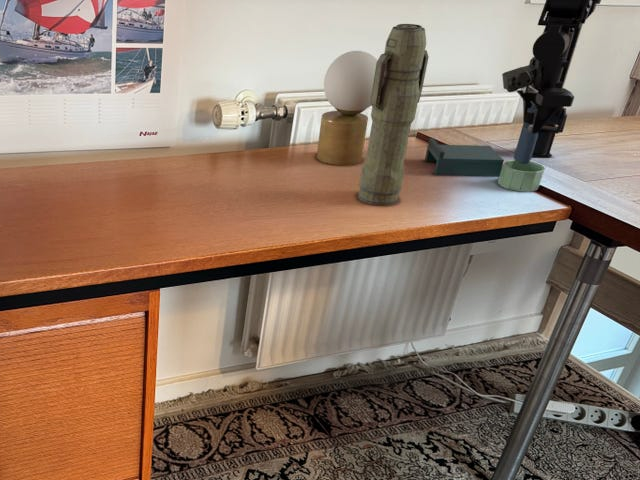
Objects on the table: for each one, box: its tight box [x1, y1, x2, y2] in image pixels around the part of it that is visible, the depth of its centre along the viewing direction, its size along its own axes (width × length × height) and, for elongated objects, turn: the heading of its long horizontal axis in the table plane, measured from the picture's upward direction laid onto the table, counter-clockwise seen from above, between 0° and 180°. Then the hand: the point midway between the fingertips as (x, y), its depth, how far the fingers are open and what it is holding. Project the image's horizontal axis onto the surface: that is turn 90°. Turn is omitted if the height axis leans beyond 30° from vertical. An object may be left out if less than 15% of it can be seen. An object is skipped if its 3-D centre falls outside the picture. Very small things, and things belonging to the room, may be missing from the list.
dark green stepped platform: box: [424, 138, 505, 177], centre depth 169 cm, size 15×11×6 cm
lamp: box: [316, 50, 378, 166], centre depth 172 cm, size 15×14×25 cm
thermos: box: [357, 23, 430, 206], centre depth 145 cm, size 9×12×35 cm
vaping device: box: [513, 105, 538, 164], centre depth 155 cm, size 3×5×12 cm, turn 175°
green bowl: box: [497, 159, 546, 193], centre depth 160 cm, size 9×9×4 cm
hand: (530, 129), depth 155 cm, fingers closed on vaping device, 5 cm apart
